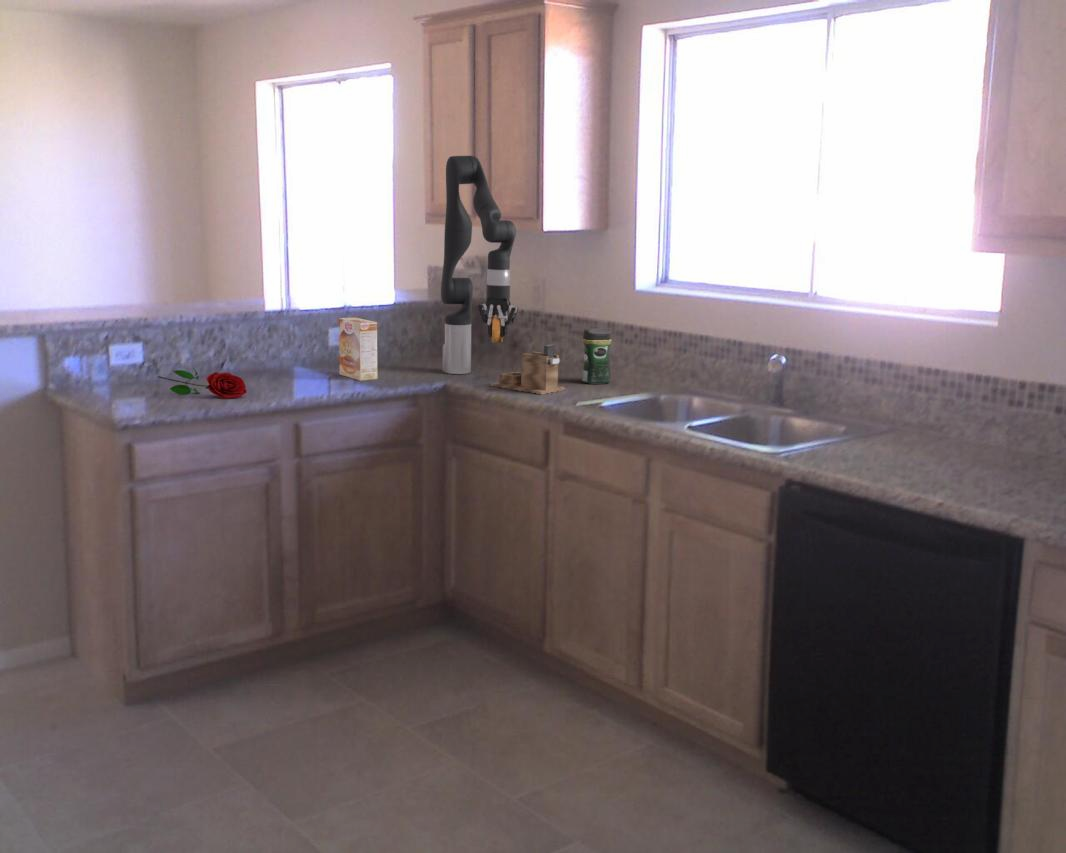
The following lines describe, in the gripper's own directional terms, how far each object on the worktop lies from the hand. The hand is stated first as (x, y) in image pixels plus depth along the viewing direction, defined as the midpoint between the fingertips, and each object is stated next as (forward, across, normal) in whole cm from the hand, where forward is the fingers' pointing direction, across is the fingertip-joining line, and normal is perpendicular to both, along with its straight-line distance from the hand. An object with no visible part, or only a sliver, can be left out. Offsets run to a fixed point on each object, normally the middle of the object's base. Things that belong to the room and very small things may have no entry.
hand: (497, 336), depth 366 cm
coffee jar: (+17, +24, +28) cm, 41 cm away
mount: (+17, +8, +6) cm, 20 cm away
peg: (+2, 0, 0) cm, 2 cm away
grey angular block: (+7, +14, +4) cm, 16 cm away
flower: (+17, -71, -60) cm, 95 cm away
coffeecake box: (+17, -50, -5) cm, 53 cm away
